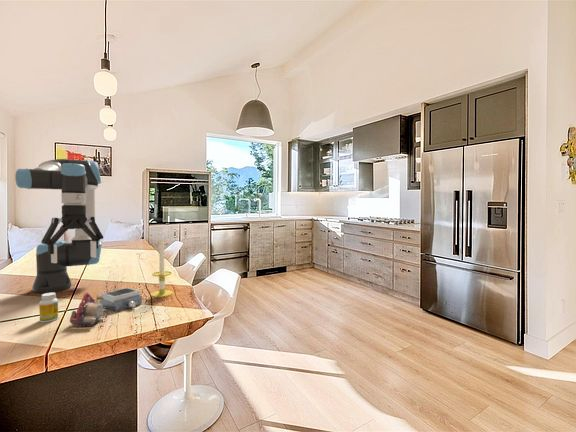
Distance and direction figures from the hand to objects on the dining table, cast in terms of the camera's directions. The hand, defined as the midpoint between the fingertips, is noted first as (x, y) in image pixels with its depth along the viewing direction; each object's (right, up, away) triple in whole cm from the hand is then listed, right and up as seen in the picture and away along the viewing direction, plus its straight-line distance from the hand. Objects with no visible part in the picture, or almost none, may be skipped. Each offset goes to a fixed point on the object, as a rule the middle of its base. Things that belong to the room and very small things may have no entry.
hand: (74, 259), depth 114 cm
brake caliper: (+10, -22, -8) cm, 25 cm away
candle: (+22, -20, +27) cm, 40 cm away
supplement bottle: (-6, -21, -5) cm, 23 cm away
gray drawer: (+13, -21, +11) cm, 26 cm away
